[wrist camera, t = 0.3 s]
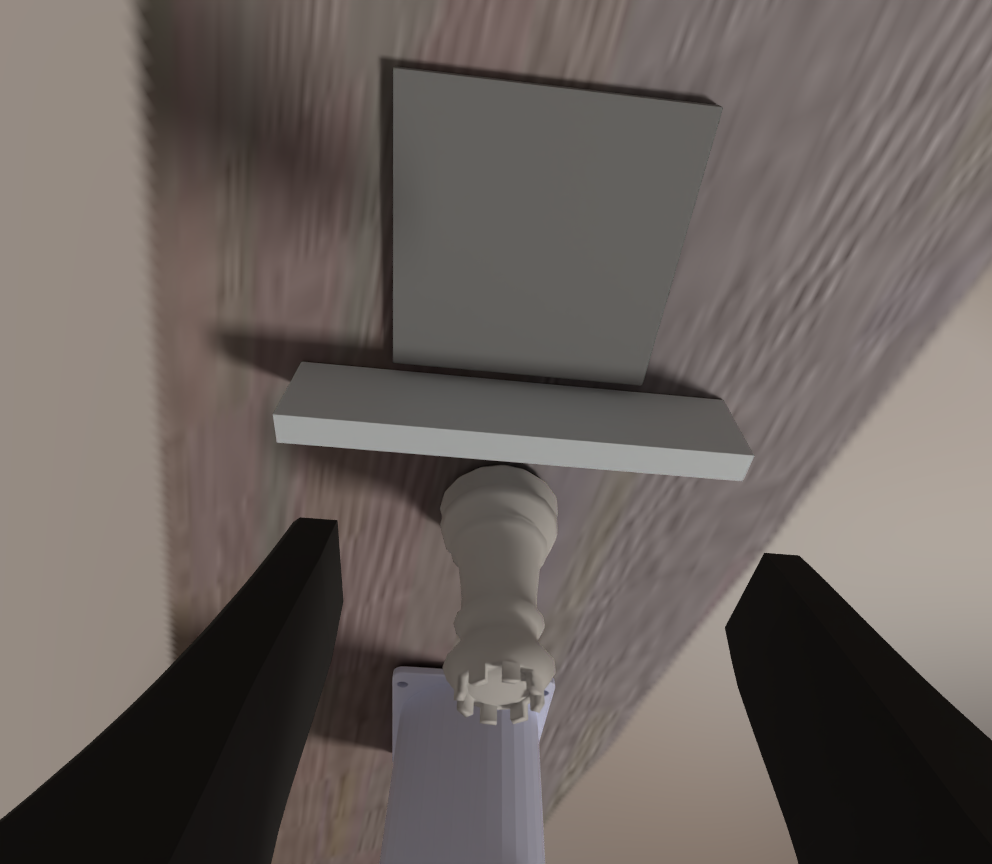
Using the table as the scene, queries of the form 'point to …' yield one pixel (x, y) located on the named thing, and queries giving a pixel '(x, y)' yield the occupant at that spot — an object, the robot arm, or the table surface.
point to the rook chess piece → (499, 589)
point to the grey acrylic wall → (510, 422)
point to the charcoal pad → (538, 223)
